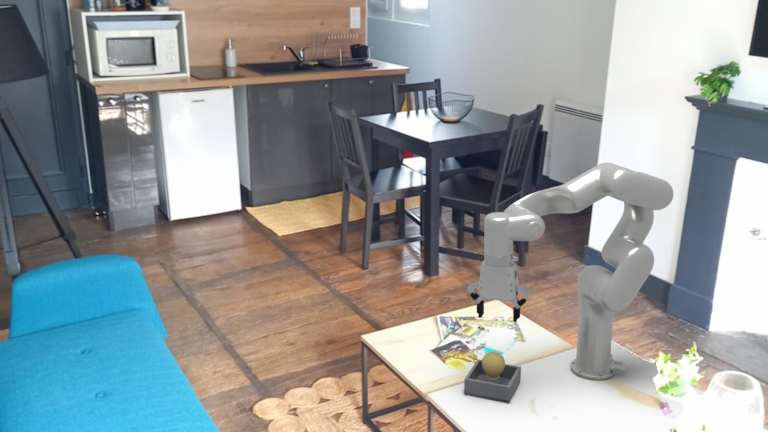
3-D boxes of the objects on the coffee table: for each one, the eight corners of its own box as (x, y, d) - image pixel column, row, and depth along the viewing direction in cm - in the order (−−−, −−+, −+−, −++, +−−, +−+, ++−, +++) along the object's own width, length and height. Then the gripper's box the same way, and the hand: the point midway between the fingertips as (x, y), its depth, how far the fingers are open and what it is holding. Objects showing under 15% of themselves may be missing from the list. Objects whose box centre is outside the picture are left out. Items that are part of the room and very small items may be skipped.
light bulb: (480, 390, 199) (481, 357, 196) (481, 379, 205) (482, 347, 202) (503, 392, 198) (505, 359, 195) (504, 381, 204) (505, 349, 201)
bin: (520, 382, 205) (520, 366, 204) (509, 403, 194) (509, 387, 193) (477, 374, 210) (477, 359, 209) (464, 394, 199) (464, 379, 198)
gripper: (533, 257, 193) (532, 316, 198) (471, 251, 200) (471, 308, 204) (527, 266, 186) (526, 327, 191) (463, 260, 193) (463, 319, 198)
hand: (498, 317), depth 198 cm, fingers open, 9 cm apart
